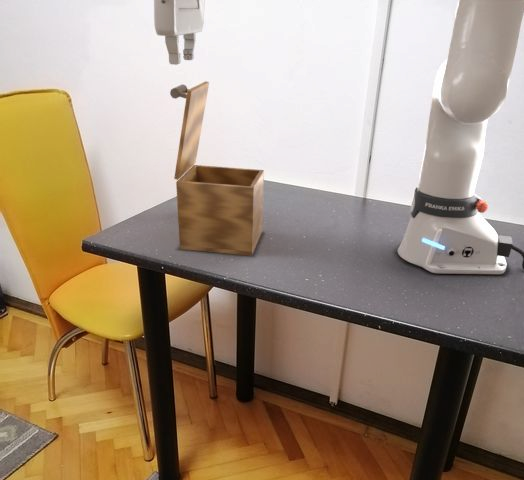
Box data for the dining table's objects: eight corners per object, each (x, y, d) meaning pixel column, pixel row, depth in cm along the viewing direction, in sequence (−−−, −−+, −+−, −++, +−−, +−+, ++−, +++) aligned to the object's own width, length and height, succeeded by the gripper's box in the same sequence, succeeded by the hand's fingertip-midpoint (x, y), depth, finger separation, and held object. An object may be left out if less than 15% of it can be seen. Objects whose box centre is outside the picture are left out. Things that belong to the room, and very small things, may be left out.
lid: (209, 82, 108) (185, 75, 108) (191, 91, 97) (165, 83, 97) (195, 163, 118) (173, 156, 118) (177, 180, 106) (153, 172, 106)
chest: (261, 232, 124) (264, 170, 116) (251, 255, 113) (253, 187, 105) (196, 227, 126) (193, 164, 118) (179, 249, 114) (176, 181, 107)
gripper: (179, -30, 84) (183, 68, 92) (209, -24, 101) (210, 58, 109) (141, -32, 85) (148, 66, 93) (177, -25, 102) (180, 57, 110)
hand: (182, 62), depth 101 cm, fingers open, 8 cm apart
